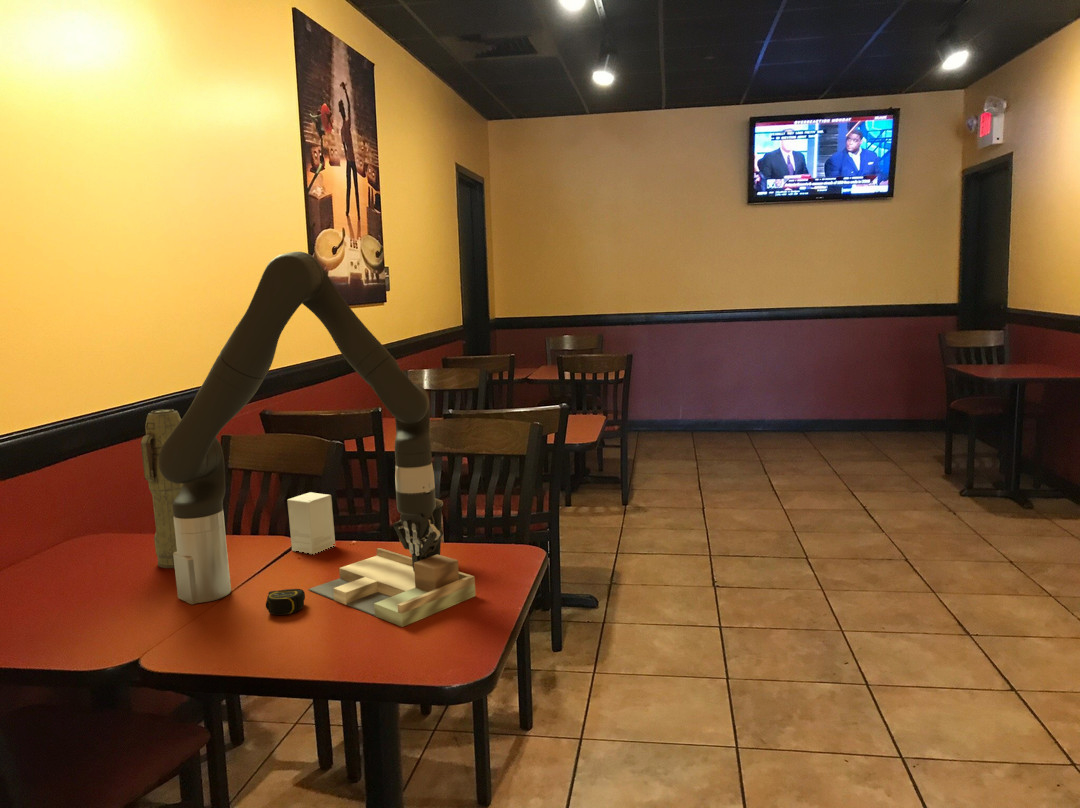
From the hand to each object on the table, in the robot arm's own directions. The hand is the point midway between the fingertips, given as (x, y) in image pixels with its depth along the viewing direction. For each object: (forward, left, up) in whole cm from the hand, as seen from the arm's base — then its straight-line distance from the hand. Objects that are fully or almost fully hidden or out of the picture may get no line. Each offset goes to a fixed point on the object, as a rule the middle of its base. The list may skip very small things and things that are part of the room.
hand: (420, 571), depth 161 cm
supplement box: (+3, +43, -4) cm, 43 cm away
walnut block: (0, -5, -2) cm, 6 cm away
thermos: (-21, +61, -4) cm, 64 cm away
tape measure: (-22, +14, -5) cm, 26 cm away
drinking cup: (+12, +12, -4) cm, 17 cm away
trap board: (-4, +5, -4) cm, 7 cm away
